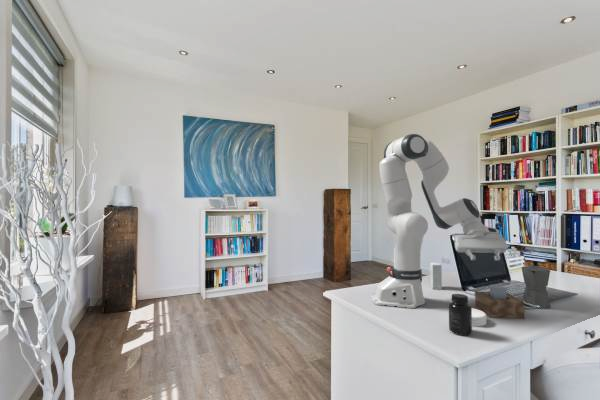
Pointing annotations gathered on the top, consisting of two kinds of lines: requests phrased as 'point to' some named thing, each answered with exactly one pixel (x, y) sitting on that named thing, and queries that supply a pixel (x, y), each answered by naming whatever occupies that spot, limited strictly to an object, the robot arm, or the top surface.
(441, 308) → the top surface
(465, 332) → the supplement bottle
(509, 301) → the socket block
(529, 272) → the coffeepot
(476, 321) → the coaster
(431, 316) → the top surface
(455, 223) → the robot arm
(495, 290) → the square peg
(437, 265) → the skincare box
